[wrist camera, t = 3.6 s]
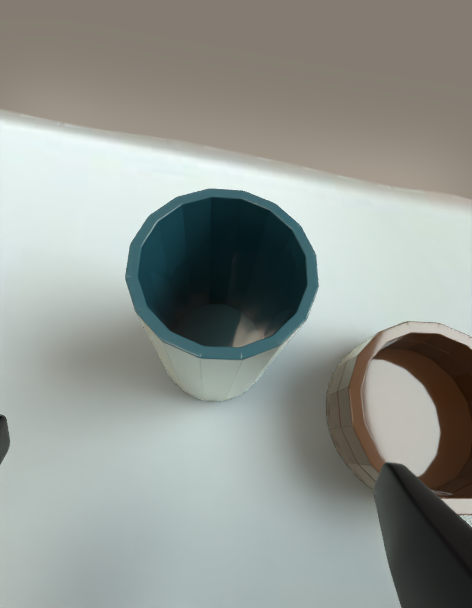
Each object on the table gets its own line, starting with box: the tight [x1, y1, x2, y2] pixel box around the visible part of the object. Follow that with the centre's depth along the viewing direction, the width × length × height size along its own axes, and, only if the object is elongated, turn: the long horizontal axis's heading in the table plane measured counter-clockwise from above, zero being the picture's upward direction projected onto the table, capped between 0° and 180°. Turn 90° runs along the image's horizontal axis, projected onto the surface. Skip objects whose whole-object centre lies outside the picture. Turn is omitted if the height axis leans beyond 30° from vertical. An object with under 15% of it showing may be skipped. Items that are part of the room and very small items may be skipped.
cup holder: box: [326, 321, 472, 515], centre depth 19 cm, size 9×9×4 cm
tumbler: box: [125, 189, 319, 402], centre depth 17 cm, size 6×6×11 cm
